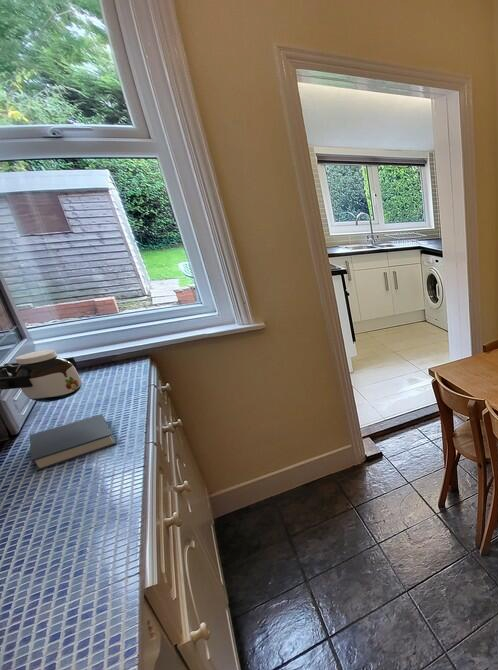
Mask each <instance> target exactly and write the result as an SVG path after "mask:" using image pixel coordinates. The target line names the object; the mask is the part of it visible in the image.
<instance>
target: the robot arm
mask: <svg viewBox="0 0 498 670" xmlns="http://www.w3.org/2000/svg"><path fill="white" fill-rule="evenodd" d="M62 358H63V359H65V360H67V361H69V362H71V363H72V364H73V366H74V367H75V369H76V368H78V367H79V365H78V363H77V361H76V360H75V358H74V357H73V356H71V357H62ZM18 367H19V364H18V363H17V361H16V362H5V363H3V365H0V394H1V391H3V390H14V389H21V388H27V387H32V386H33V385H32V383H31V381H30V380H29V378H28V376H18V377H15V372H16V369H17V368H18Z"/></svg>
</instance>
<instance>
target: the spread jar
mask: <svg viewBox="0 0 498 670" xmlns="http://www.w3.org/2000/svg"><path fill="white" fill-rule="evenodd" d="M63 358H64V357H59V356H58V354H57V352H56V350H55V349H43V350H37V351H33V352H27V353H24V354H21V355H18V356H16V357H15V358H14V359H15V361H16V362H17V363H18V364H19V367H18V368H17V369H16V372H15V377H18V376H28V378H29V380H30V381H31V383H32V385H33V386H32V387H27V388H20V390H21V392H22V393H23V394H24V396H25V397H26V398H27V399H30V400H32V401H35V402H39V403H53V402H57V401H61V400H65V399H67V398H70V397H73V396H74V395H76V394H78V392H79V391H80V390H81V388H82V385H83V383H82V379H81V377H80V374H79V373H78V370H77V369H76V368H75V367H74V366H73V364H72V363H71V362H69V361H67V360H65V359H63Z"/></svg>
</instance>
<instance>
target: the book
mask: <svg viewBox="0 0 498 670" xmlns="http://www.w3.org/2000/svg"><path fill="white" fill-rule="evenodd" d="M29 445H30V450H29V451H30V461H31V462H35V464H36V470H37V471H42V470H45V469H48V468H50V467H53V466H56V465H60V464H62V463H65V462H69V461H71V460H74V459H78V458H80V457H83V456H87V455H88V454H92V453H95V452H98V451H101V450H103V449H108V448H111V447H112V446H115V445H117V442H116V439H115V438H114V435H113V433H112V431H111V429H110V426H109V424H108V422H107V421H106V418H105V417H104V414H102V413H99V414H97V415H94V416H90V417H87V418H84V419H81V420H77V421H73V422H69V423H66V424H64V425H59V426H57V427H53V428H50V429H46V430H43V431H40V432H39V431H38V432H35V433H33V434H30V435H29Z"/></svg>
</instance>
